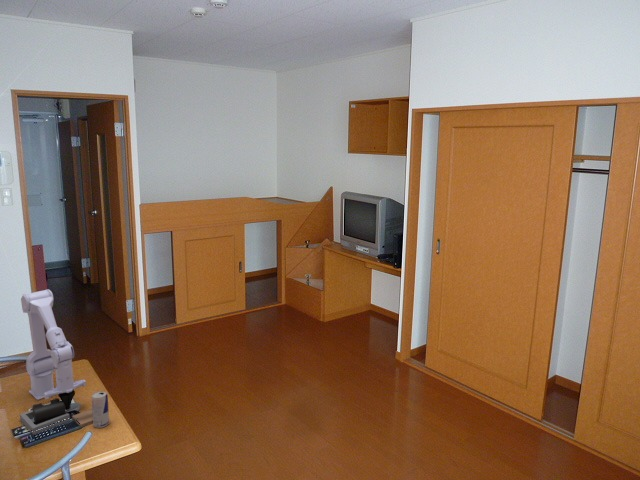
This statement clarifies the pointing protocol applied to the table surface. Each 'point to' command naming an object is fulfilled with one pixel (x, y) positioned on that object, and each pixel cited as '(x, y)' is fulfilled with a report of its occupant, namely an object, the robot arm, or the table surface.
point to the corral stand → (31, 426)
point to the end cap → (48, 411)
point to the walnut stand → (84, 418)
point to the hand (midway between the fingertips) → (67, 408)
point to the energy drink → (100, 409)
